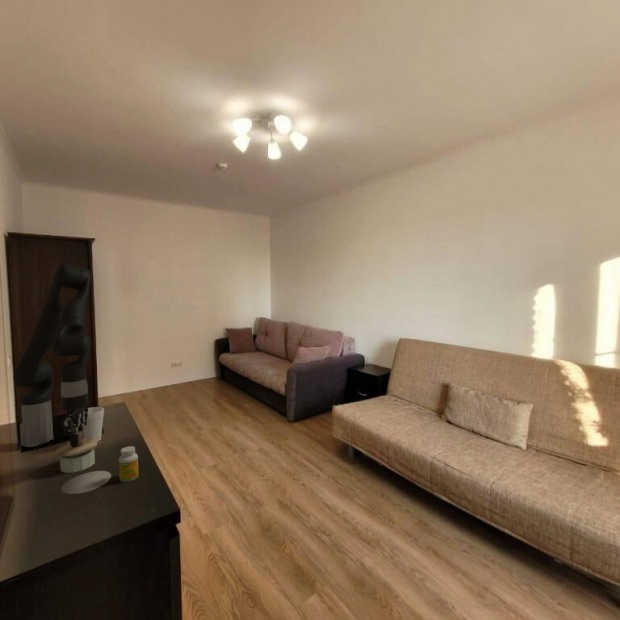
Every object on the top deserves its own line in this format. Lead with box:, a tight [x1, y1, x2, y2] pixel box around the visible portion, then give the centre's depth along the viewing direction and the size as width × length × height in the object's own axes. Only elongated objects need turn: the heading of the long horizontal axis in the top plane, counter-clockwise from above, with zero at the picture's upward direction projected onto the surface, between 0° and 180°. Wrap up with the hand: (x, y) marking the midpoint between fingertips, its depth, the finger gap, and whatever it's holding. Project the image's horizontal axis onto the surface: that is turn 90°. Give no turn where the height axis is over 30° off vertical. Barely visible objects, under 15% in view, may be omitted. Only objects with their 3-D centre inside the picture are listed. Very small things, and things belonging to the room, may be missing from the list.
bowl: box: [59, 448, 96, 474], centre depth 116 cm, size 10×10×5 cm
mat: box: [60, 470, 112, 495], centre depth 105 cm, size 13×13×1 cm
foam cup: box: [83, 406, 105, 442], centre depth 136 cm, size 10×9×13 cm
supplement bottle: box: [118, 445, 140, 483], centre depth 107 cm, size 5×5×10 cm
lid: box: [55, 431, 98, 457], centre depth 116 cm, size 12×12×6 cm
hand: (77, 442), depth 116 cm, fingers closed on lid, 3 cm apart
